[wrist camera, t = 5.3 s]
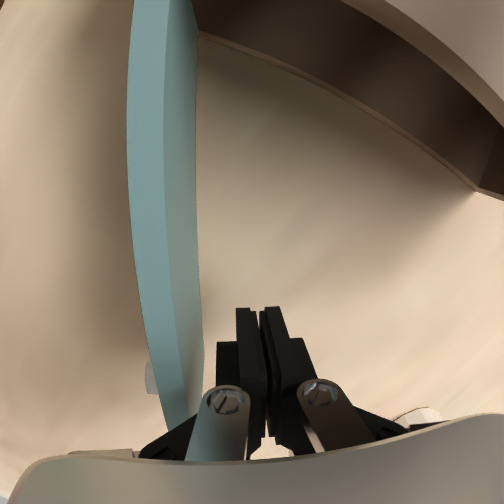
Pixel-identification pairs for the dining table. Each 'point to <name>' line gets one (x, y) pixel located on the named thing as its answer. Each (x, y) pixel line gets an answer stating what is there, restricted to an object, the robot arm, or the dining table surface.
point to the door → (166, 199)
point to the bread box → (390, 66)
